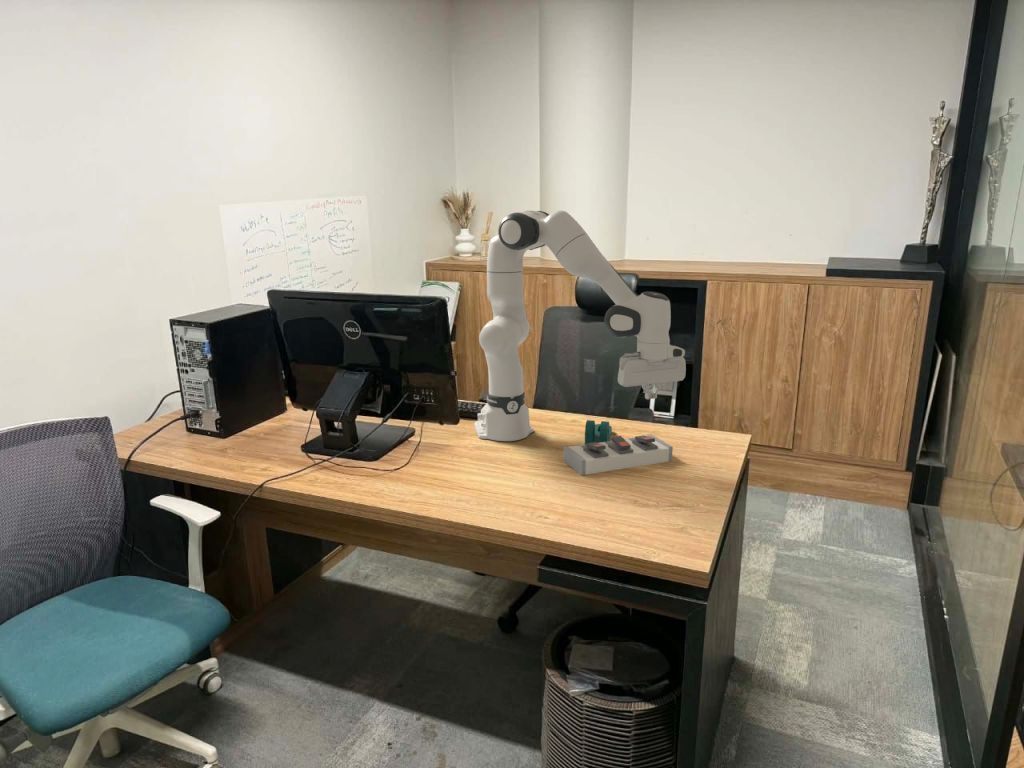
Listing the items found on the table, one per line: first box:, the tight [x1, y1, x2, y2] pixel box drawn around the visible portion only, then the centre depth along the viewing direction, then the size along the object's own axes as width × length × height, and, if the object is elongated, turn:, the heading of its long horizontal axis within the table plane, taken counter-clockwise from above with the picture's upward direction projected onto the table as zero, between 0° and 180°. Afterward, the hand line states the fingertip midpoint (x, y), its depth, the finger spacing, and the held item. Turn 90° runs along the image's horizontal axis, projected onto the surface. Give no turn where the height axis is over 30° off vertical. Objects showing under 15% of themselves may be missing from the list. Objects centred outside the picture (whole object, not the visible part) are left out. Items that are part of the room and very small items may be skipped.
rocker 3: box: [634, 435, 655, 443], centre depth 204 cm, size 6×3×1 cm, turn 21°
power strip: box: [563, 433, 674, 476], centre depth 203 cm, size 12×29×5 cm, turn 111°
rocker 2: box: [610, 435, 631, 450], centre depth 201 cm, size 6×3×1 cm, turn 21°
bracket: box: [584, 419, 613, 445], centre depth 221 cm, size 18×7×8 cm, turn 166°
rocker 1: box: [586, 442, 606, 451], centre depth 198 cm, size 6×3×1 cm, turn 21°
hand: (650, 398), depth 198 cm, fingers closed
